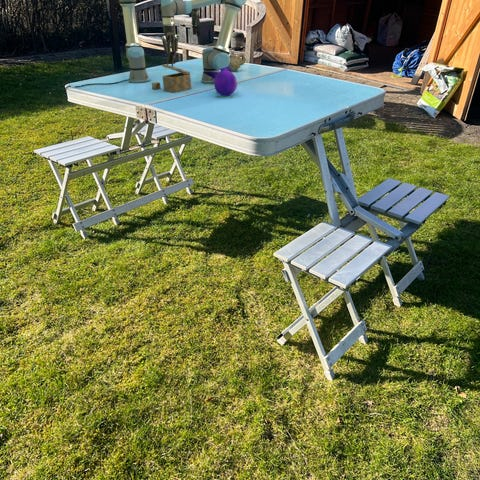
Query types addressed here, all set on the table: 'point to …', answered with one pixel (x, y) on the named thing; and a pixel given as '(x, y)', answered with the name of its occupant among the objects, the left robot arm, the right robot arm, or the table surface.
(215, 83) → the toy
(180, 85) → the chest
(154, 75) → the table surface
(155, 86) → the block
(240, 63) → the teapot
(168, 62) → the lid
